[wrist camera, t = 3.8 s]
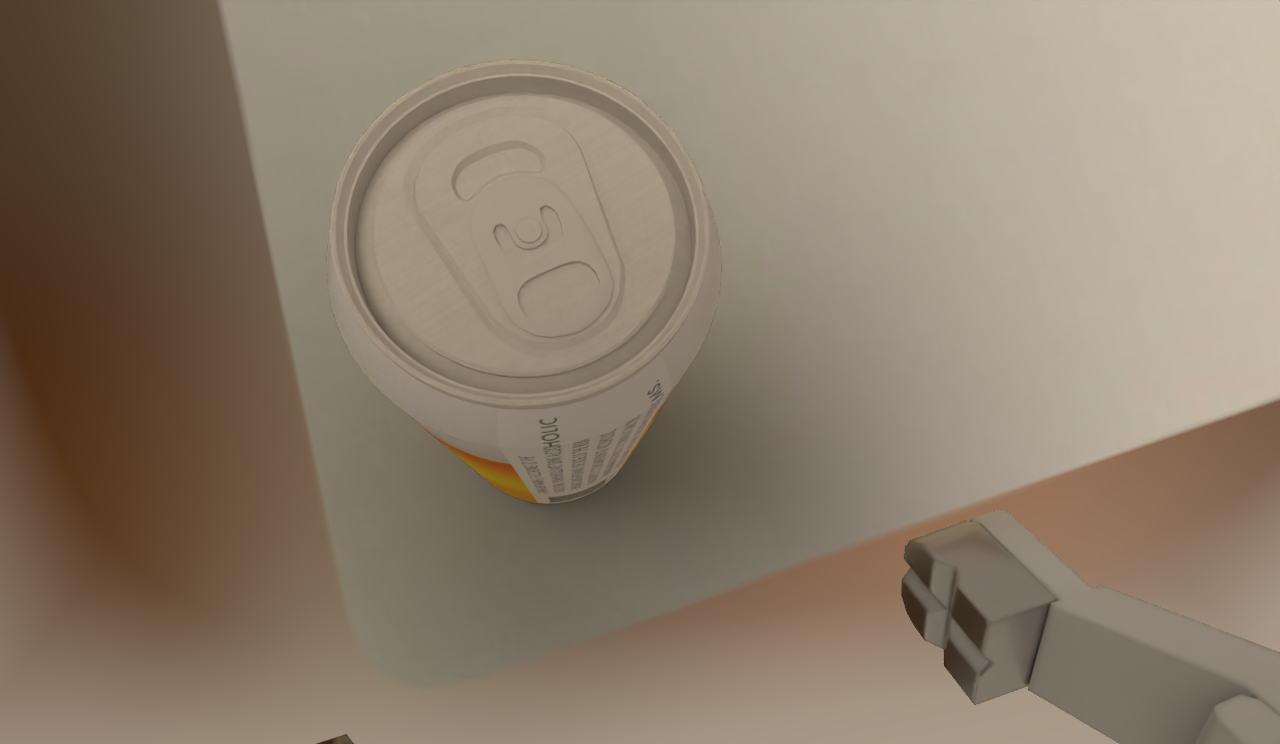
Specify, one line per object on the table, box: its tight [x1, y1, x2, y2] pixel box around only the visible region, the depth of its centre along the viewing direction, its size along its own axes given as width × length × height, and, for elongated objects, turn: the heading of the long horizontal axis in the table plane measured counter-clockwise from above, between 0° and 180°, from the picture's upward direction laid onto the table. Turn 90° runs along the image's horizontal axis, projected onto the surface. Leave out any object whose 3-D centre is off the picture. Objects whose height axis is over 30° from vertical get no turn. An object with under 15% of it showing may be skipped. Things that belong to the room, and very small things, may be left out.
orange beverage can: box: [326, 60, 722, 504], centre depth 17 cm, size 6×6×15 cm
